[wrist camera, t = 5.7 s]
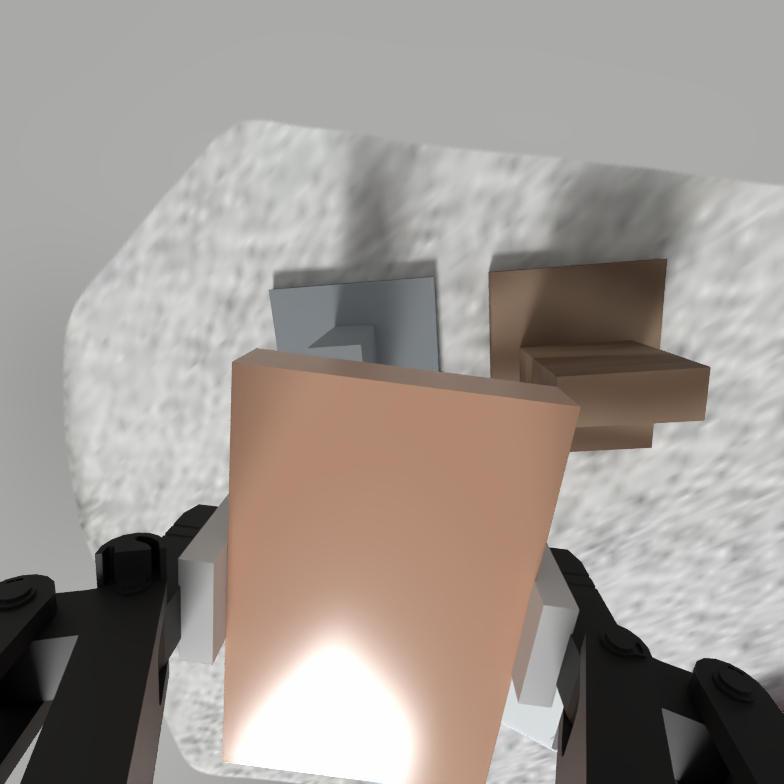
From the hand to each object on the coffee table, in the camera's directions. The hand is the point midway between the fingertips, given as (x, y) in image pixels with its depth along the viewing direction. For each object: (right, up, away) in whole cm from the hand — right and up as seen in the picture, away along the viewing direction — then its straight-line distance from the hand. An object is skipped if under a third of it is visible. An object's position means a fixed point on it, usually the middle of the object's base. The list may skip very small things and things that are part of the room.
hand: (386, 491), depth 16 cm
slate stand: (-2, +5, +19) cm, 20 cm away
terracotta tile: (0, -1, -4) cm, 4 cm away
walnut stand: (+14, +6, +18) cm, 24 cm away
